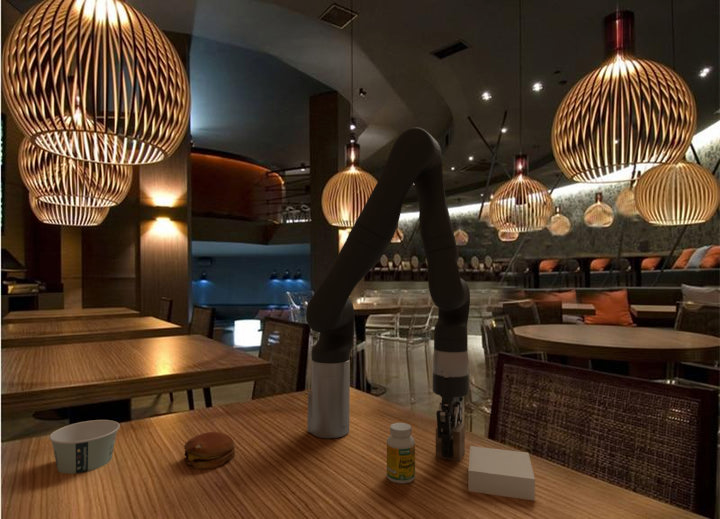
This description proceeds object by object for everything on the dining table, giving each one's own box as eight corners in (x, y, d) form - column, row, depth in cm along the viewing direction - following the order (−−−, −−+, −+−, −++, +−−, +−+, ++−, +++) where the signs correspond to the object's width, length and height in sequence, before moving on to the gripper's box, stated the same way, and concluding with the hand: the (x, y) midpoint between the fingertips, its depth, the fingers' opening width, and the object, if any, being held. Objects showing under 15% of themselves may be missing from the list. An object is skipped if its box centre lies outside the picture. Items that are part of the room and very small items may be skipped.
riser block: (468, 493, 77) (468, 470, 77) (470, 465, 87) (470, 445, 88) (534, 502, 74) (534, 479, 74) (528, 473, 84) (528, 452, 84)
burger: (238, 449, 94) (238, 427, 94) (229, 469, 85) (229, 445, 85) (191, 450, 93) (191, 429, 93) (177, 471, 84) (177, 447, 84)
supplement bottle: (402, 468, 85) (403, 419, 85) (421, 479, 81) (421, 427, 81) (380, 475, 82) (381, 424, 82) (398, 487, 78) (398, 433, 78)
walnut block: (435, 457, 90) (435, 428, 91) (441, 448, 95) (441, 420, 95) (459, 461, 88) (459, 432, 88) (464, 452, 93) (464, 424, 93)
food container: (124, 465, 86) (124, 432, 86) (49, 483, 78) (50, 447, 78) (114, 445, 95) (115, 415, 95) (47, 460, 88) (47, 427, 88)
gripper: (441, 362, 100) (441, 436, 100) (423, 376, 87) (423, 461, 87) (474, 365, 97) (474, 442, 97) (461, 380, 84) (461, 469, 84)
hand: (450, 451), depth 92 cm, fingers closed on walnut block, 5 cm apart
